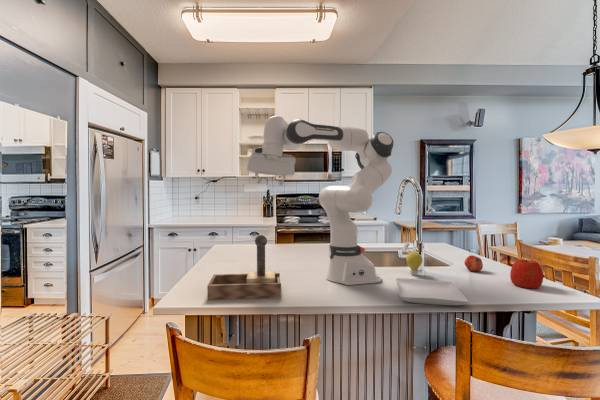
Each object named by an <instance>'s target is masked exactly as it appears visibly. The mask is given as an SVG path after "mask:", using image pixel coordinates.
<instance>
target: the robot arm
mask: <svg viewBox="0 0 600 400" xmlns="http://www.w3.org/2000/svg"><path fill="white" fill-rule="evenodd" d="M311 140H313V141H315V140H316V141H327V142H328V145H329V147H330V148H331V150H334V151H338V152H339V151H340V152H341V151H342V152H355V156H354V157H355V159H356V162H357V165H358V167H359V168H360V170H359V171H357V172H356V173H355V174H354V175H353V176H352V178H351V183H350V184H346V185H345V184H344V185H341V184H340V185H337V184H335V185H334V184H333V185H329V186H326V187H325V186H324V187H323V188H322V189H321V190H320V192H319V193H318V194H319V195H318V202H319V204H320V206H321V207H322V208H323V210H324V211H325V213H326V216H327V219H328V222H329V228H330V229H329V231H330V235H329V236H330V244H329V248H328V249H329V250H328V258H329V264H328V270H327V275H326V280H328V281H330V282H334V283H337V284H343V285H346V286H353V285H364V284H375V283H381V282H382V276H381V275H380V274H378V273H377V272H376V267H375V265H374V263H373V262H372V261H371V260H370V259H368V258H367V257H366V256H365V255H363V253H364V254H365V252H366V249H365V247H363V246H360V245H358V226H357V224H356V223H355V222H354V221H353V220H352V219H351V216H350V214H351V213H352V214H358V213H364V212H367V211H368V210H369V209H371V206H372V203H373V195H372V194H374V192H376V191H377V190H378V189H379V188H380V187H382V185H384V184H385V183H386V182H387V181H388V179H389V178H390V177H391V175H392V171H393V168H392V165H391V164H390V163H389V161H388V158H389V157H391V155H392V152H393V151H392V150H393V148H394V138H392V136H391V135H390V134H389V133H387V132H385V131H377V132H376V133H374V134H373V135H372V136H371V137H369V133H368V131H367V130H365V129H364V128H360V127H354V126H353V127H352V126H351V127H350V126H333V125H326V124H316V123H315V124H314V123H312V122H311V123H310V122H308V121H306V120H304V119H301V118H298V119H294V120H292V121H291V122H289V123H288V122H287V121H286V120H285V118H284V117H283V116H280V115H274V116H270V117H268V118H267V120H266V121H265V123H264V128H263V143H262V146H260V147H259V146H258V147H254V148H252V150H251V154H250V156H249V158H248V162H247V167H246V170H247V172H248V173H250V174H251V173H253V174H254V176H255V179H256V184H259V185H260V184H261V182H262V181H261V180H262V179H260V178H259V174H260V175H261V174H263V175H270V176H271V175H273V176H281V178H282V180H278V186H280V187H281V186H282V187H283V185H284V181H285V180H286V178H287V177H293V176H294V175H295V165H296V161H297V158H296V157H295V156H293V155H292V154H284V152H283V151H284V149H285V150H288V151H295V150H298V149H300V148H301V147H302V145H303V144H305V143H307V142H308V141H309V142H310V141H311Z"/></svg>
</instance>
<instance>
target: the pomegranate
mask: <svg viewBox="0 0 600 400" xmlns="http://www.w3.org/2000/svg"><path fill="white" fill-rule="evenodd" d="M482 260H483V259H481V258H480V257H479V256H476V255H474V254H473V255H469V256H467V257H466V258H465V260H464V262H463V263H464V266H465V267H466V269H467V270H468V271H470V272H481V271H482V269H483V268H484V264H483V261H482Z"/></svg>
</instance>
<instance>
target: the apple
mask: <svg viewBox="0 0 600 400" xmlns="http://www.w3.org/2000/svg"><path fill="white" fill-rule="evenodd" d="M509 272H510V273H509V275H510V281H511V283H512V284H513V285H514V286H517V287H520V288H523V289H530V290H531V289H532V290H534V289H539V288H540V287H541V286H542V285H543V282H544V272H543V269H542V267H541V266H540V264H539V263H538V262H537V261H535V260H529V259H527V258H525V259H517V260H515V262H514V263H513V264H512V266H511V268H510V271H509Z"/></svg>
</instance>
